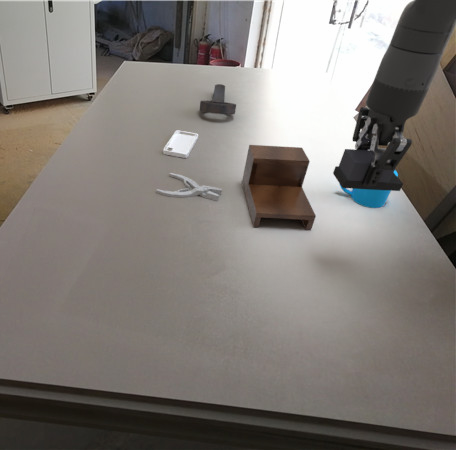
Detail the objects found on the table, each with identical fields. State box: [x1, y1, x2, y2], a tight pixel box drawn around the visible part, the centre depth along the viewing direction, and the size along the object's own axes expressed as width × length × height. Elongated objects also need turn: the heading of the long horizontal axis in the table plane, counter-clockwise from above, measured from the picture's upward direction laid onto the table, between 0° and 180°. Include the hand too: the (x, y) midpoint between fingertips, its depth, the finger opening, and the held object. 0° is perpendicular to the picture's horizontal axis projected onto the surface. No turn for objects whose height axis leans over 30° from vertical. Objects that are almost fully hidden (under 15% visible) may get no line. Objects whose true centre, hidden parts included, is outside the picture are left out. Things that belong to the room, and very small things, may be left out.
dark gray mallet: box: [199, 83, 237, 115], centre depth 146 cm, size 12×8×30 cm
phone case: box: [162, 129, 199, 159], centre depth 121 cm, size 7×1×15 cm
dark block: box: [332, 148, 404, 192], centre depth 70 cm, size 10×5×5 cm, turn 89°
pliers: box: [156, 172, 223, 202], centre depth 101 cm, size 10×2×15 cm
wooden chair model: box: [241, 144, 316, 231], centre depth 95 cm, size 13×19×11 cm
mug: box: [338, 169, 399, 209], centre depth 100 cm, size 12×8×8 cm
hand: (361, 177), depth 71 cm, fingers closed on dark block, 5 cm apart
